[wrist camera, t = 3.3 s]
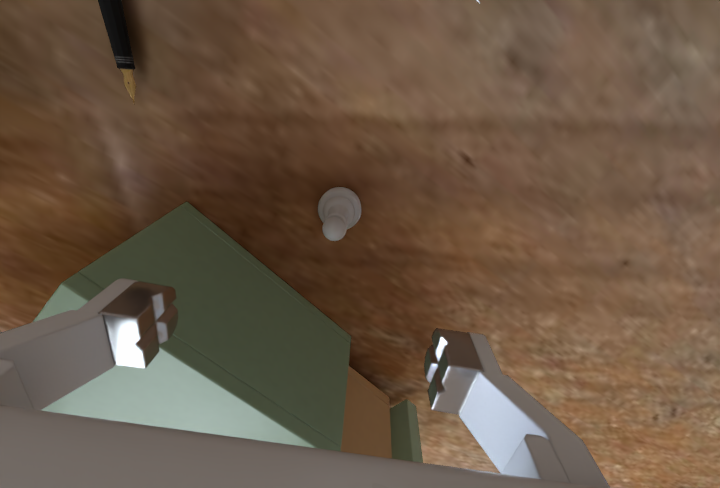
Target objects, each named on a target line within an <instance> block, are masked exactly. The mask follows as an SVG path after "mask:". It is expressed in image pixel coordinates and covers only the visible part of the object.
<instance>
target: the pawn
mask: <svg viewBox="0 0 720 488" xmlns="http://www.w3.org/2000/svg"><path fill="white" fill-rule="evenodd" d="M318 214H319V217H320V219H321V220H322V222H323V223H324V224H323V234H324V235H325V237H326V238H327V239H329V240H331V241H338V240H340V239H342V238H343V237H344V235H345V234H346V229H349V228H351V227H353V226H354V225H355V224H356V223H357V222H358V220H359V219H360V216H361V204H360V200H359V198H358V196H357V195H356V194H355V193H354V192H353V191H351V190H350V189H347V188H344V187H336V188H332V189H330V190H328V191H327V192H326V193H324V195H323V196H322V197H321V199H320V201H319V204H318Z"/></svg>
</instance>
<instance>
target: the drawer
mask: <svg viewBox="0 0 720 488" xmlns="http://www.w3.org/2000/svg"><path fill="white" fill-rule="evenodd" d="M389 406H390V404H389V397H388V396H387V395H386V394H384V393H383V392H382V391H381V390H379V389H378V388H377V387H375V386H374V385H373V384H372V383H370V382H369V381H368V380H366V379H365V378H364V377H363V376H361V375H360V374H359V373H357V372H356V371H355V370H354V369H352V368H351V367H350V366H349V367H348V378H347V389H346V400H345V411H344V422H343V433H342V444H341V452H348V453H355V454H362V455H370V456H377V457H384V458H392V459H399V460H406V461H413V462H421V463H423V459H422V451H421V443H420V435H419V427H418V419H417V411H416V406H415V405H414V404H413V403H411V402H410V401H409V400H407V399H406V400H404V401H402V402H401V403H399V404H397V405H395V406H394V407H392V408H390V407H389Z"/></svg>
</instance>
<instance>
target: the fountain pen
mask: <svg viewBox="0 0 720 488" xmlns="http://www.w3.org/2000/svg"><path fill="white" fill-rule="evenodd" d="M98 2H99V5H100V9H101V12H102V16H103V19H104V23H105V26H106V30H107V33H108V36H109V40H110V43H111V47H112V50H113V53H114V57H115V60H116V64H117V68H119V69H120V70H121V71H122V73H123V76H124V84H125V87H126V89H127V91H128V92H129V94H130V96H131V98H132V100H133V102H134V95H135V89H136V84H135V81H134V78H133V75H132V74H133V69H135V66H134V61H133V56H132V51H131V46H130V41H129V36H128V31H127V26H126V21H125V16H124V11H123V6H122V2H121V0H98ZM134 105H135V104H134Z"/></svg>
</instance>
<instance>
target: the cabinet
mask: <svg viewBox="0 0 720 488" xmlns="http://www.w3.org/2000/svg"><path fill="white" fill-rule="evenodd" d="M122 278H124V279H130V280H136V281H143V282H149V283H154V284H160V285H165V286H171V287H173V288H174V289H175V291H176V299H175V300H174V302H173V303H172V304H173V305H174V306H175V307H176V308H177V309H178V323H177V326H176V328H175V331H174V333H173V334H172V336H171V337H170V338H169V340H167V341H165V342H163V343H161V344H159V353H158V354H157V355H156V356H155V358H154V359H153V360H152V361H151V363H150V364H149V365H148V366H147V368H146V369H144V368H135V367H127V366H118V365H114V367H113V368H111V369H110V370H108V371H106V372H105V373H103V374H101V375H100V376H98V377H96V378H94V379H93V380H91V381H89V382H88V383H86V384H84V385H83V386H81V387H79V388H77V389H76V390H74V391H72V392H71V393H69V394H67V395H66V396H64V397H62V398H61V399H59V400H57V401H55V402H54V403H52V404H50V405H49V406H47V407H45V408H44V409H42V410H41V411H49V412H56V413H63V414H70V415H78V416H85V417H92V418H100V419H107V420H114V421H122V422H129V423H136V424H143V425H151V426H158V427H165V428H173V429H180V430H187V431H195V432H202V433H209V434H216V435H224V436H231V437H238V438H245V439H253V440H260V441H267V442H275V443H282V444H289V445H296V446H304V447H311V448H318V449H326V450H333V451H340V452H341V444H342V433H343V422H344V411H345V400H346V389H347V378H348V367H349V356H350V345H351V344H350V343H351V336H350V335H349V334H348V333H346V332H345V331H344V330H343V329H342V328H340V327H339V326H338V325H337V324H335V323H334V322H333V321H332V320H331V319H329V318H328V317H327V316H326V315H324V314H323V313H322V312H321V311H320V310H318V309H317V308H316V307H315V306H314V305H312V304H311V303H310V302H309V301H307V300H306V299H305V298H304V297H303V296H301V295H300V294H299V293H298V292H296V291H295V290H294V289H293V288H292V287H290V286H289V285H288V284H287V283H286V282H284V281H283V280H282V279H281V278H279V277H278V276H277V275H276V274H275V273H273V272H272V271H271V270H270V269H268V268H267V267H266V266H265V265H264V264H262V263H261V262H260V261H259V260H257V259H256V258H255V257H254V256H253V255H251V254H250V253H249V252H248V251H247V250H245V249H244V248H243V247H242V246H240V245H239V244H238V243H237V242H236V241H234V240H233V239H232V238H231V237H229V236H228V235H227V234H226V233H225V232H223V231H222V230H221V229H220V228H219V227H217V226H216V225H215V224H214V223H212V222H211V221H210V220H209V219H208V218H206V217H205V216H204V215H203V214H201V213H200V212H199V211H198V210H197V209H195V208H194V207H193V206H192V205H191V204H189V203H188V202H185V203H183V204H182V205H180V206H179V207H177V208H175V209H174V210H172V211H171V212H169V213H168V214H166V215H165V216H163V217H162V218H160V219H159V220H157V221H155V222H154V223H152V224H151V225H149V226H148V227H146V228H145V229H143V230H142V231H140V232H139V233H137V234H135V235H134V236H132V237H131V238H129V239H128V240H126V241H125V242H123V243H122V244H120V245H119V246H117V247H115V248H114V249H112V250H111V251H109V252H108V253H106V254H105V255H103V256H102V257H100V258H99V259H97V260H95V261H94V262H92V263H91V264H89V265H88V266H86V267H85V268H83V269H82V270H80V271H79V272H78V273H76V274H74V275H73V276H71V277H70V278H68V279H66V280H65V281H63V282H62V283H61V284H60V286H59V287H58V288H57V290H56V291H55V292H54V294H53V295H52V296H51V298H50V299H49V300H48V302H47V303H46V305H45V306H44V307H43V309H42V310H41V311H40V313H39V314H38V315H37V317H36V318H35V319H34V321H33V322H35V321H38V320H42V319H45V318H48V317H51V316H54V315H57V314H60V313H63V312H66V311H69V310H76V311H77V310H78V309H80V308H81V307H82V306H83V305H85V304H86V303H87V302H89V301H90V300H91V299H93V298H94V297H95V296H96V295H98V294H99V293H100V292H102V291H103V290H104V289H105V288H107V287H108V286H109V285H111V284H112V283H113V282H115V281H116V280H117V279H122Z"/></svg>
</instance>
